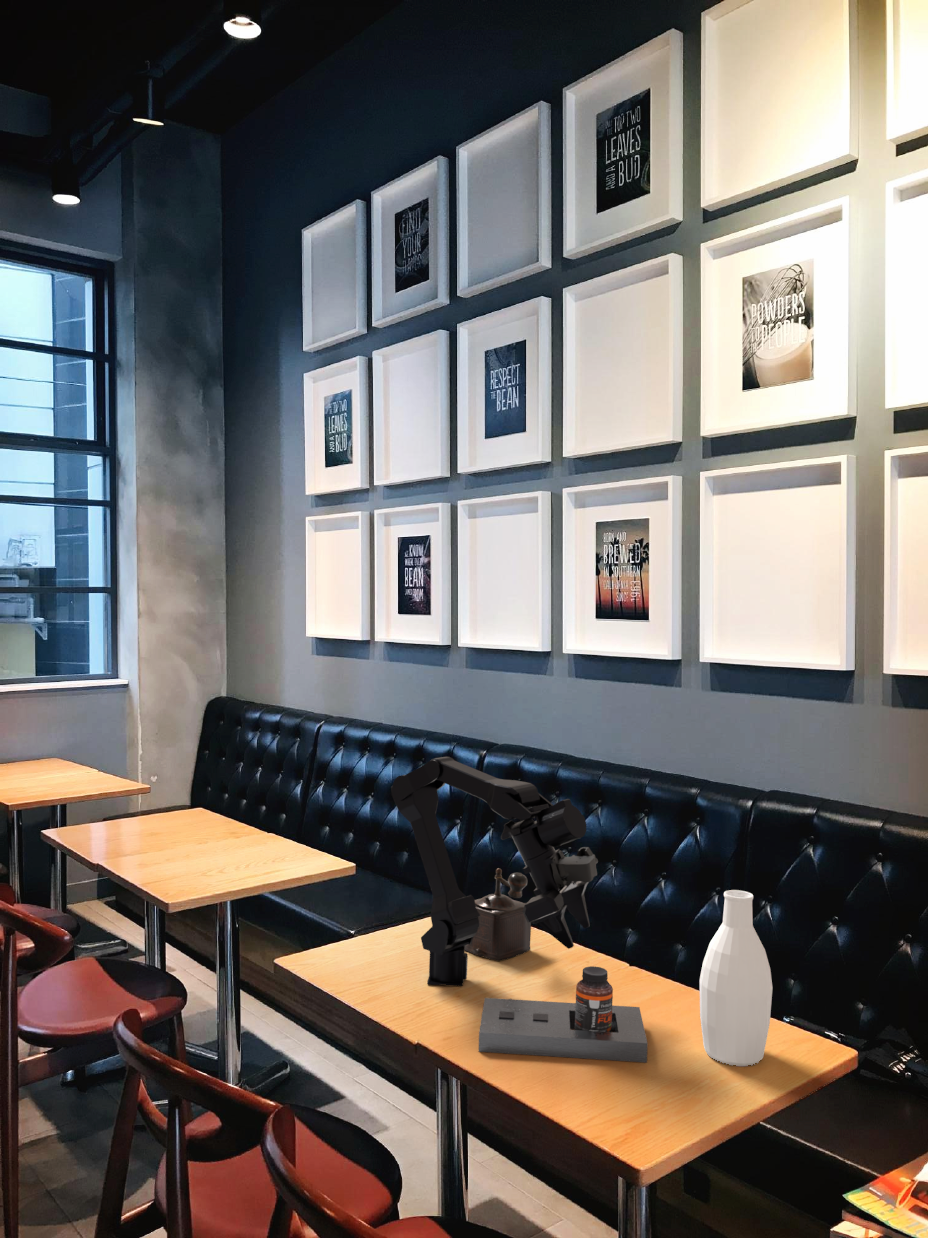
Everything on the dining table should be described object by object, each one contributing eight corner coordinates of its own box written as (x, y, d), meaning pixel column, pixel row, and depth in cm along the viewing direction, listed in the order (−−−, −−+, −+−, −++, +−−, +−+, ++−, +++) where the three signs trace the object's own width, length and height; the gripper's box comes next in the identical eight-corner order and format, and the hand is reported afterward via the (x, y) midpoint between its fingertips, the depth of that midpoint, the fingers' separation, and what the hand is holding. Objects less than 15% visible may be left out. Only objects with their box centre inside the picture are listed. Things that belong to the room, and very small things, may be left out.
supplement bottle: (601, 1051, 158) (604, 980, 158) (567, 1042, 161) (569, 971, 161) (617, 1038, 163) (619, 969, 163) (583, 1029, 166) (585, 961, 166)
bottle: (767, 1043, 163) (772, 887, 162) (773, 1074, 152) (779, 907, 151) (696, 1035, 165) (701, 881, 165) (698, 1065, 154) (703, 900, 154)
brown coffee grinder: (457, 950, 203) (459, 861, 202) (493, 937, 211) (495, 852, 211) (515, 971, 192) (518, 877, 192) (551, 957, 200) (554, 867, 200)
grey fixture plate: (478, 1051, 157) (479, 1031, 157) (484, 1015, 171) (484, 996, 171) (646, 1062, 155) (647, 1042, 155) (638, 1025, 169) (639, 1006, 168)
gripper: (560, 853, 162) (604, 943, 160) (593, 822, 179) (633, 902, 177) (504, 877, 166) (546, 964, 165) (541, 844, 183) (580, 923, 182)
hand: (579, 937), depth 172 cm, fingers open, 9 cm apart
